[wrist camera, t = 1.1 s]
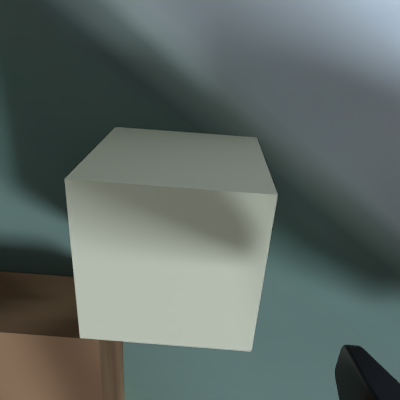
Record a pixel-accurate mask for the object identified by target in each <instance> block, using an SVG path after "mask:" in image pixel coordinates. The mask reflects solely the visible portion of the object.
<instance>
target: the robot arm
mask: <svg viewBox="0 0 400 400" xmlns="http://www.w3.org/2000/svg"><path fill="white" fill-rule="evenodd" d="M335 379H336V384H337V390H338V395H339V400H400V383H399V382H398V381H397V380H396V379H395V378H394V377H392V376H391V375H390V374H389V373H388V372H387V371H386V370H385V369H384V368H383V367H382V366H381V365H380V364H379V363H378V362H377V361H376V360H375V359H374V358H373V357H372V356H371V355H370V354H369V353H368V352H367V351H365V350H364V349H363V348H362V347H360V346H356V345H344V346H343V347H342V348H341V351H340V354H339V358H338V361H337V364H336V368H335Z"/></svg>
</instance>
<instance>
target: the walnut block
mask: <svg viewBox="0 0 400 400" xmlns="http://www.w3.org/2000/svg"><path fill="white" fill-rule="evenodd" d="M0 400H124V372H123V342H122V341H111V340H98V339H85V338H80V334H79V323H78V313H77V303H76V293H75V282H74V277H69V276H56V275H43V274H29V273H16V272H3V271H0Z"/></svg>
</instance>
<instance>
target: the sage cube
mask: <svg viewBox="0 0 400 400" xmlns="http://www.w3.org/2000/svg"><path fill="white" fill-rule="evenodd" d="M64 180H65V190H66V201H67V211H68V221H69V231H70V241H71V252H72V262H73V272H74V282H75V293H76V303H77V313H78V323H79V334H80V338H85V339H98V340H111V341H124V342H137V343H150V344H163V345H176V346H188V347H201V348H214V349H227V350H240V351H251V350H252V344H253V339H254V333H255V327H256V321H257V315H258V309H259V303H260V297H261V291H262V285H263V279H264V274H265V268H266V262H267V256H268V250H269V244H270V238H271V232H272V226H273V220H274V215H275V209H276V203H277V197H278V194H277V191H276V189H275V186H274V183H273V180H272V178H271V175H270V172H269V170H268V167H267V164H266V161H265V159H264V156H263V153H262V150H261V148H260V145H259V142H258V140H257V137H246V136H232V135H218V134H205V133H191V132H177V131H164V130H150V129H137V128H123V127H115V128H114V129H113V130H112V131H111V132H110V133H109V134H108V135H107V136H106V137H105V138H104V139H103V140H102V141H101V142H100V143H99V144H98V145H97V146H96V147H95V148H94V149H93V150H92V151H91V152H90V154H89V155H88V156H87V157H86V158H85V159H84V160H83V161H82V162H81V163H80V164H79V165H78V166H77V167H76V168H75V169H74V170H73V171H72V172H71V173H70V174H69V175H68V176H67V177H66V178H65V179H64Z"/></svg>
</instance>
